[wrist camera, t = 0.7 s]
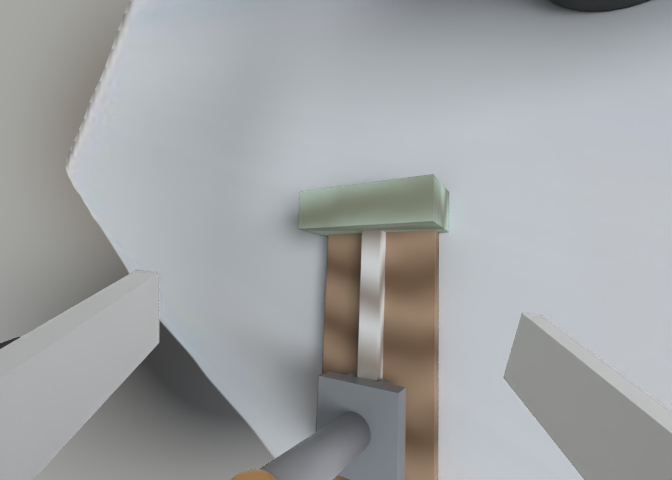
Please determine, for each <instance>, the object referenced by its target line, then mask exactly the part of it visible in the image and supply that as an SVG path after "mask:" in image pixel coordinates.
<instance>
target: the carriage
mask: <svg viewBox="0 0 672 480" xmlns="http://www.w3.org/2000/svg"><path fill="white" fill-rule="evenodd" d="M405 433H406V387H403V386H398V385H393V384H390V380H385V379H381V380H380V381H374V380H369V379H364V378H359V377H357V374H355V373H349V374H347V375H344V374H340V373H335V372H330V371H329V372H327V373H324V374H322V375H319V376H318V397H317V419H316V433H314V434H313V435H311V436H310V437H308V438H306V439H305V440H303V441H302V442H300V443H299V444H297V445H296V446H294V447H293V448H291V449H290V450H288V451H286V452H285V453H283V454H282V455H280V456H279V457H277V458H276V459H274V460H273V461H271V462H270V463H268V464H266V465H265V466H263V467H262V468H260V469H250V470H246V471H243V472H241V473H239V474H237V475H236V476H235V477H233V478H232V479H231V480H333V479H334V478H335V477H336V476H337V475H339V476H342V477H344V478H347V479H350V480H405Z"/></svg>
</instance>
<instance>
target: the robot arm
mask: <svg viewBox="0 0 672 480" xmlns="http://www.w3.org/2000/svg"><path fill="white" fill-rule="evenodd" d="M550 1H552V2H554V3H556V4H558V5H560V6H563V7H567V8H571V9H576V10H585V11H601V10H612V9H618V8H623V7H628V6H632V5H636V4H639V3H642V2H645V1H648V0H550ZM158 343H159V272H151V271H142V270H136V271H134V272H132V273H130V274H129V275H127V276H125V277H124V278H122V279H120V280H118V281H117V282H115V283H114V284H112V285H110V286H108V287H106V288H105V289H103V290H101V291H100V292H98V293H96V294H94V295H93V296H91V297H89V298H87V299H86V300H84V301H82V302H81V303H79V304H77V305H76V306H74V307H72V308H70V309H68V310H67V311H65V312H63V313H62V314H60V315H58V316H56V317H55V318H53V319H51V320H50V321H48V322H46V323H44V324H43V325H41V326H39V327H38V328H36V329H34V330H32V331H31V332H29V333H27V334H26V335H24V336H22V337H17V338H14V339H11V340H9V341H6V342H3V343H0V480H33V479H34V478H35V477H36V476H37V475H38V474H39V473H40V472H41V470H42V469H43V468H44V467H45V466H46V465H47V464H48V463H49V462H50V461H51V460H52V458H53V457H54V456H55V455H56V454H57V453H58V452H59V451H60V450H61V449H62V448H63V447H64V445H65V444H66V443H67V442H68V441H69V440H70V439H71V438H72V437H73V436H74V435H75V434H76V432H77V431H78V430H79V429H80V428H81V427H82V426H83V425H84V424H85V423H86V422H87V420H88V419H89V418H90V417H91V416H92V415H93V414H94V413H95V412H96V411H97V410H98V409H99V407H100V406H101V405H102V404H103V403H104V402H105V401H106V400H107V399H108V398H109V397H110V396H111V394H112V393H113V392H114V391H115V390H116V389H117V388H118V387H119V386H120V385H121V383H123V381H124V380H125V379H126V378H127V377H128V376H129V375H130V374H131V373H132V372H133V371H134V369H135V368H136V367H137V366H138V365H139V364H140V363H141V362H142V361H143V360H144V359H145V357H146V356H147V355H148V354H149V353H150V352H151V351H152V350H153V349H154V348H155V347H156V345H157V344H158ZM503 378H504V379H505V380H506V382H507V383H508V384H509V385H510V387H511V388H512V389H513V390H514V392H515V393H516V394H517V395H518V397H519V398H520V399H521V400H522V402H523V403H524V404H525V405H526V407H527V408H528V409H529V411H530V412H531V413H532V414H533V416H534V417H535V418H536V419H537V421H538V422H539V423H540V424H541V426H542V427H543V428H544V429H545V431H546V432H547V433H548V435H549V436H550V437H551V438H552V440H553V441H554V442H555V443H556V445H557V446H558V447H559V448H560V450H561V451H562V452H563V453H564V455H565V456H566V457H567V458H568V460H569V461H570V462H571V464H572V465H573V466H574V467H575V469H576V470H577V471H578V472H579V474H580V475H581V476H582V477H583V479H584V480H672V411H671V410H670V409H668V408H667V407H665V406H664V405H663V404H661V403H660V402H659V401H657V400H656V399H655V398H653V397H652V396H651V395H649V394H648V393H647V392H645V391H644V390H642V389H641V388H640V387H638V386H637V385H636V384H634V383H633V382H632V381H630V380H629V379H628V378H626V377H625V376H624V375H622V374H621V373H619V372H618V371H617V370H615V369H614V368H613V367H611V366H610V365H609V364H607V363H606V362H605V361H603V360H602V359H601V358H599V357H598V356H596V355H595V354H594V353H592V352H591V351H590V350H588V349H587V348H586V347H584V346H583V345H582V344H580V343H579V342H578V341H576V340H575V339H573V338H572V337H571V336H569V335H568V334H567V333H565V332H564V331H563V330H561V329H560V328H559V327H557V326H556V325H555V324H553V323H552V322H550V321H549V320H548V319H546V318H545V317H544V316H542V315H536V314H527V313H522V314H521V318H520V321H519V325H518V328H517V332H516V335H515V339H514V342H513V346H512V349H511V353H510V356H509V360H508V363H507V367H506V370H505V374H504V377H503Z"/></svg>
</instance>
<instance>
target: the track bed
mask: <svg viewBox="0 0 672 480" xmlns="http://www.w3.org/2000/svg"><path fill="white" fill-rule="evenodd" d="M298 229H300V230H304V231H308V232H311V233H315V234H319V235H323V236H327V237H328V258H327V280H326V302H325V324H324V345H323V367H322V374H324V373H327V372H329V371H330V372H335V373H340V374H344V375H347V374H349V373H355V374H357V377H359V378H364V379H369V380H374V381H380V380H381V379H385V380H390V384H393V385H398V386H403V387H406V433H405V480H438V306H439V232H449V192H448V191H447V189H446V188H445V187H444V186H443V185H442V184H441V182H440V181H439V180H438V179H437V178H436V177H435V175H434V174H431V175H424V176H416V177H408V178H401V179H393V180H385V181H377V182H370V183H362V184H354V185H347V186H339V187H331V188H323V189H316V190H308V191H300V196H299V214H298ZM333 480H350V479H347V478H344V477H342V476H339V475H337V476H336V477H335V478H334V479H333Z"/></svg>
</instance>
